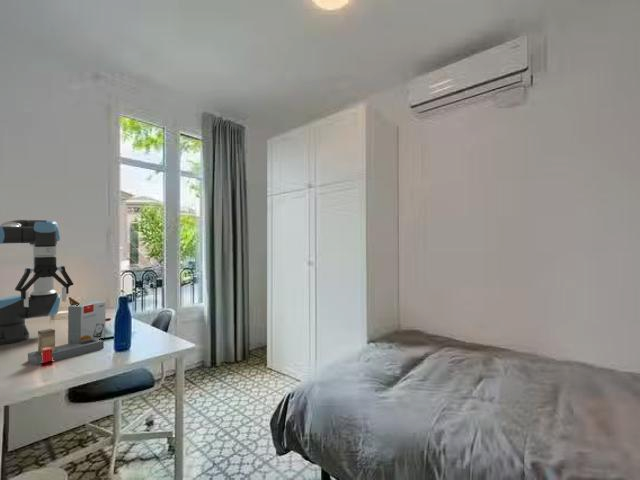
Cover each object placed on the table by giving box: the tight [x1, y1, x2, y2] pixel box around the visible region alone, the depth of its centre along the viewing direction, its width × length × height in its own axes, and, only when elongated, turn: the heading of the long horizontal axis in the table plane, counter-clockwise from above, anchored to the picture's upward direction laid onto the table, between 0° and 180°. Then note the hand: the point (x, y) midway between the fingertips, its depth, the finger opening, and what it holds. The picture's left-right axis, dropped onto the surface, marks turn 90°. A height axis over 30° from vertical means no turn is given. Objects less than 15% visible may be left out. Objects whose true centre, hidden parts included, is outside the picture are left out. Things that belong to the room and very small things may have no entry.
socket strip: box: [27, 338, 105, 366], centre depth 152 cm, size 10×26×4 cm, turn 148°
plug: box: [37, 328, 56, 355], centre depth 145 cm, size 5×5×13 cm
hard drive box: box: [67, 300, 107, 344], centre depth 171 cm, size 16×8×20 cm, turn 168°
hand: (45, 304), depth 145 cm, fingers open, 13 cm apart
